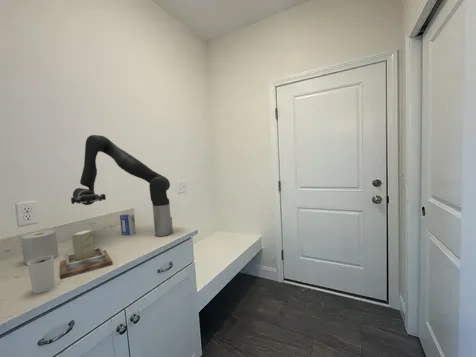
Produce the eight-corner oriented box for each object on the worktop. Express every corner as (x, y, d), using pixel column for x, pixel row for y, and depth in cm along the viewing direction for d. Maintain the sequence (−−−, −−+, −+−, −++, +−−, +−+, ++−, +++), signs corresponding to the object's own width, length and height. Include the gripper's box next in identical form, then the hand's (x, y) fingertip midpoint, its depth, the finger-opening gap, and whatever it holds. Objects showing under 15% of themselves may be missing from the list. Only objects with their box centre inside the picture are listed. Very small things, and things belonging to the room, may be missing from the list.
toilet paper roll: (44, 253, 112) (42, 230, 111) (65, 254, 110) (62, 230, 109) (16, 264, 100) (13, 238, 100) (38, 265, 98) (35, 238, 97)
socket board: (105, 253, 108) (105, 244, 108) (112, 264, 95) (111, 255, 94) (60, 264, 98) (59, 255, 97) (60, 279, 84) (59, 268, 84)
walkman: (121, 235, 136) (119, 215, 136) (125, 233, 139) (123, 213, 138) (132, 235, 134) (130, 215, 133) (136, 233, 137) (134, 214, 136)
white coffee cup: (29, 289, 78) (26, 260, 77) (54, 281, 83) (51, 254, 82) (32, 296, 73) (28, 266, 73) (58, 287, 78) (55, 258, 77)
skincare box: (83, 264, 93) (80, 234, 92) (74, 264, 93) (71, 234, 93) (96, 257, 99) (93, 230, 98) (87, 257, 100) (84, 229, 99)
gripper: (69, 191, 117) (70, 194, 105) (101, 188, 126) (106, 190, 113) (71, 206, 118) (72, 210, 105) (102, 202, 127) (108, 205, 114)
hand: (90, 199), depth 109 cm, fingers open, 8 cm apart
